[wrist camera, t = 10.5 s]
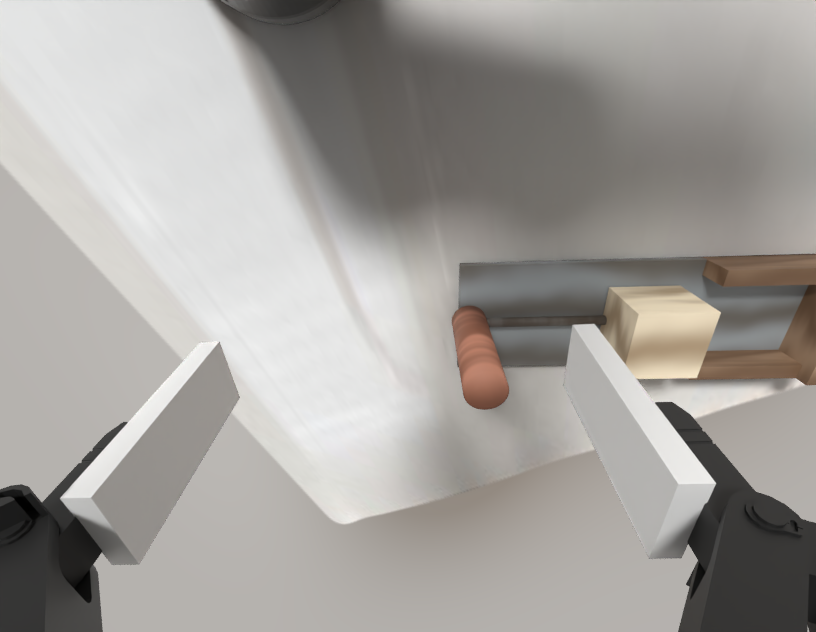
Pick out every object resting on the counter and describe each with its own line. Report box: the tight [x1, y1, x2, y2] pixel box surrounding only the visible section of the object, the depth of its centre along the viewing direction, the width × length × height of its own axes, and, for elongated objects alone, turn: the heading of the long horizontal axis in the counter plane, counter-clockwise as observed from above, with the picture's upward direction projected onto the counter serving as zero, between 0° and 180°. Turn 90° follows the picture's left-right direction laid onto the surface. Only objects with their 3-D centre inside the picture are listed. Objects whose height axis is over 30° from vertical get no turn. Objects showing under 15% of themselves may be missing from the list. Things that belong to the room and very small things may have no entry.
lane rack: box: [457, 254, 816, 385], centre depth 40 cm, size 12×37×5 cm, turn 92°
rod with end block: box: [452, 285, 721, 410], centre depth 36 cm, size 7×23×12 cm, turn 92°
